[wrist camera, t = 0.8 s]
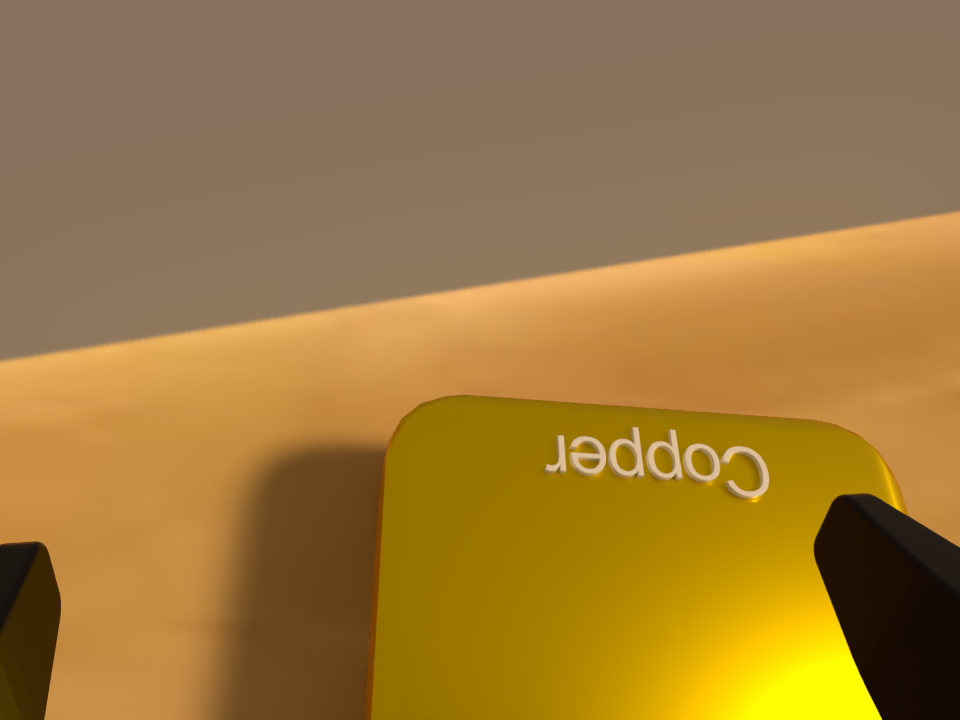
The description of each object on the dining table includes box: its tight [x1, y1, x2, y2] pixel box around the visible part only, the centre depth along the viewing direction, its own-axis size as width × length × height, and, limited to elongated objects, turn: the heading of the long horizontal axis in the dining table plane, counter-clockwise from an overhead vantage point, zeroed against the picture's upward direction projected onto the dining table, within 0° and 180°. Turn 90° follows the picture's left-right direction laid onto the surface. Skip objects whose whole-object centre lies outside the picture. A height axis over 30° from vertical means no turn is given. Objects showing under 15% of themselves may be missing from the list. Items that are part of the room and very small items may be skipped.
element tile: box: [364, 395, 908, 720], centre depth 22 cm, size 15×15×5 cm
